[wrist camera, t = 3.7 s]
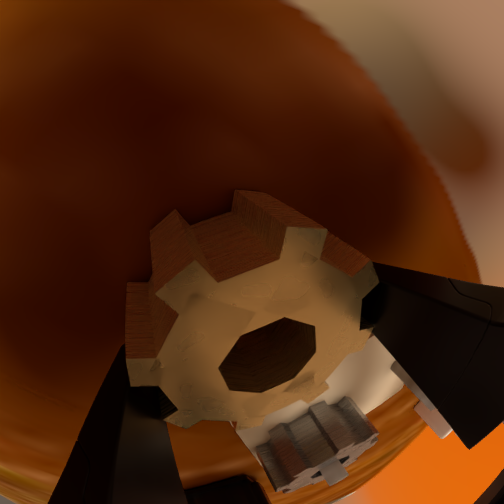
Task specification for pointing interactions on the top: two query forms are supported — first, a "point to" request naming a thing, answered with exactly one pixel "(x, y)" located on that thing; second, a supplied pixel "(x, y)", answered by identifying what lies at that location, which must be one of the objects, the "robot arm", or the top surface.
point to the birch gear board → (345, 384)
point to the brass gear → (244, 312)
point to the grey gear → (315, 444)
